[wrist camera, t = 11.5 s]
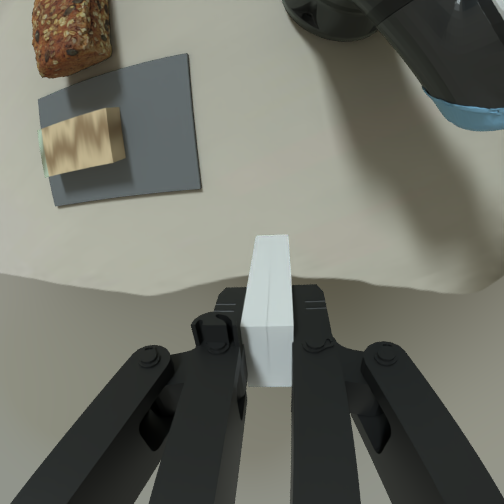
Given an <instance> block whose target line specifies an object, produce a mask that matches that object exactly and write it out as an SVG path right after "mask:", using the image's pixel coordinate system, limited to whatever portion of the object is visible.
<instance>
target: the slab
mask: <svg viewBox="0 0 504 504" xmlns="http://www.w3.org/2000/svg"><path fill="white" fill-rule="evenodd" d="M37 131H38V139H39V146H40V152H41V158H42V164H43V170H44V175H45V178H46V177H50V176H54V175H58V174H62V173H66V172H71V171H75V170H80V169H84V168H89V167H94V166H99V165H104V164H109V163H114V162H116V161H119V160H122V159H124V158H126V156H125V149H124V142H123V134H122V126H121V118H120V109H119V107H111V108H103V109H100V110H96V111H93V112H90V113H86V114H83V115H80V116H77V117H74V118H71V119H68V120H65V121H62V122H59V123H56V124H53V125H51V126H48V127H45V128H43V129H40V130H37Z"/></svg>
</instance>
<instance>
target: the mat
mask: <svg viewBox="0 0 504 504" xmlns="http://www.w3.org/2000/svg"><path fill="white" fill-rule="evenodd" d="M38 105H39V116H40V125H41V129H43V128H45V127H48V126H51V125H53V124H56V123H59V122H62V121H65V120H68V119H71V118H74V117H77V116H80V115H83V114H86V113H90V112H93V111H96V110H100V109H103V108H111V107H119V109H120V118H121V126H122V134H123V142H124V149H125V156H126V158H124V159H122V160H119V161H116V162H114V163H109V164H104V165H99V166H94V167H89V168H84V169H80V170H75V171H71V172H66V173H62V174H58V175H54V176H50V177H49V181H50V186H51V190H52V195H53V199H54V203H55V206H61V205H67V204H73V203H80V202H87V201H94V200H101V199H108V198H116V197H124V196H132V195H141V194H150V193H159V192H169V191H180V190H191V189H201V181H200V172H199V164H198V155H197V146H196V137H195V127H194V117H193V107H192V96H191V85H190V73H189V61H188V54H187V53H186V54H180V55H175V56H170V57H166V58H161V59H157V60H152V61H148V62H144V63H140V64H136V65H133V66H129V67H126V68H122V69H119V70H115V71H112V72H109V73H106V74H103V75H99V76H96V77H94V78H91V79H88V80H85V81H82V82H80V83H77V84H74V85H72V86H69V87H66V88H64V89H61V90H59V91H57V92H54V93H52V94H50V95H47V96H45V97H43V98H41V99H38Z"/></svg>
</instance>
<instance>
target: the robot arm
mask: <svg viewBox="0 0 504 504" xmlns="http://www.w3.org/2000/svg"><path fill="white" fill-rule="evenodd" d="M282 2H283V4H284V7H285V9H286V10H287V12H288V13H289V15H290V16H291V17H292V18H293V20H294V21H295V22H296V23H298V24H299V25H300V26H301V27H303V28H304V29H306V30H307V31H309V32H311V33H313V34H315V35H317V36H319V37H322V38H325V39H329V40H334V41H355V40H360V39H363V38H366V37H368V36H370V35H371V34H373V33H374V32H376V31H377V30H379V31H380V32H381V34H382V35H383V36H384V37H385V38H386V39H387V41H388V42H389V43H390V44H391V45H392V46H393V48H394V49H395V50H396V51H397V53H398V54H399V55H400V56H401V58H402V59H403V60H404V62H405V63H406V64H407V65H408V67H409V68H410V69H411V71H412V72H413V73H414V75H415V76H416V78H417V79H418V80H419V82H420V83H421V85H422V89H423V90H424V92H425V93H426V95H427V96H429V97H430V98H431V99H432V100H433V102H434V103H435V104H436V106H437V107H438V109H439V110H440V112H441V113H442V115H443V116H444V117H445V118H446V119H447V120H448V121H449V122H452V123H453V124H454V125H456V126H458V127H460V128H463V129H466V130H471V131H496V130H502V129H504V0H282ZM191 328H192V332H193V335H194V339H195V344H196V348H195V349H193V350H191V351H187V352H183V353H178V354H173V355H170V353H169V352H168V350H167V349H166V348H164V347H162V346H158V345H150V346H145V347H143V348H140V349H138V350H137V351H136V352H135V353H133V354H132V356H131V357H130V358H129V359H128V360H127V361H126V363H125V364H124V365H123V366H122V367H121V368H120V369H119V371H118V372H117V373H116V374H115V375H114V377H113V378H112V379H111V380H110V381H109V382H108V384H107V385H106V386H105V387H104V389H103V390H102V391H101V392H100V393H99V394H98V396H97V397H96V398H95V399H94V400H93V402H92V403H91V404H90V405H89V407H88V408H87V409H86V410H85V411H84V412H83V414H82V415H81V416H80V417H79V418H78V420H77V421H76V422H75V423H74V425H73V426H72V427H71V428H70V429H69V431H68V432H67V433H66V434H65V436H64V437H63V438H62V439H61V440H60V442H59V443H58V444H57V445H56V446H55V448H54V449H53V450H52V452H51V453H50V454H49V455H48V456H47V458H46V459H45V460H44V461H43V463H42V464H41V465H40V467H39V468H38V469H37V470H36V471H35V473H34V474H33V475H32V477H31V478H30V479H29V480H28V482H27V483H26V484H25V486H24V487H23V488H22V489H21V491H20V492H19V493H18V495H17V496H16V497H15V498H14V500H13V501H12V502H11V504H134V502H135V501H136V499H137V498H138V496H139V494H140V492H141V491H142V490H143V488H144V486H145V485H146V483H147V482H148V480H149V478H150V477H151V475H152V474H153V472H154V470H155V469H156V467H157V465H158V464H159V462H160V460H161V462H160V466H159V469H158V472H157V476H156V479H155V483H154V486H153V490H152V494H151V497H150V501H149V504H235V496H236V488H237V481H238V473H239V465H240V457H241V448H242V440H243V432H244V423H245V415H246V406H247V394H246V386H247V382H248V386H249V387H292V400H291V412H292V425H291V428H292V431H291V432H292V433H291V437H292V438H291V490H290V504H361V501H360V491H359V482H358V481H359V480H358V471H357V463H356V455H355V447H354V440H353V432H352V425H351V418H350V413H351V416H352V418H353V420H354V422H355V424H356V427H357V429H358V431H359V433H360V435H361V437H362V439H363V442H364V444H365V446H366V448H367V450H368V452H369V454H370V456H371V459H372V461H373V463H374V465H375V467H376V470H377V472H378V474H379V476H380V478H381V480H382V483H383V485H384V487H385V489H386V491H387V494H388V496H389V498H390V500H391V502H392V504H504V498H503V496H502V495H501V493H500V491H499V489H498V488H497V486H496V484H495V483H494V481H493V479H492V478H491V476H490V474H489V473H488V471H487V470H486V468H485V466H484V465H483V463H482V461H481V460H480V458H479V457H478V455H477V453H476V452H475V450H474V449H473V447H472V446H471V445H470V443H469V441H468V440H467V438H466V436H465V435H464V434H463V432H462V431H461V429H460V428H459V426H458V425H457V423H456V422H455V420H454V419H453V417H452V416H451V414H450V413H449V411H448V410H447V408H446V407H445V406H444V404H443V403H442V401H441V400H440V399H439V397H438V396H437V394H436V393H435V391H434V390H433V389H432V387H431V386H430V384H429V383H428V382H427V380H426V379H425V378H424V376H423V375H422V373H421V372H420V371H419V369H418V368H417V367H416V365H415V364H414V363H413V361H412V360H411V359H410V357H409V356H408V355H407V353H406V352H405V351H404V350H403V349H402V348H401V347H400V346H398V345H396V344H394V343H391V342H384V341H383V342H376V343H373V344H371V345H369V346H368V347H367V349H366V350H365V351H364V352H363V351H357V350H352V349H348V348H345V347H343V346H341V345H340V344H338V343H337V342H336V340H335V338H334V337H333V336H332V333H331V328H330V322H329V317H328V313H327V309H326V303H325V298H324V293H323V291H322V290H321V289H320V288H319V287H318V286H317V285H291V269H290V253H289V239H288V235H261V236H256V239H255V245H254V251H253V256H252V262H251V268H250V273H249V279H248V285H247V287H240V288H238V287H237V288H225V289H224V290H223V291H222V292H221V293H220V294H219V296H218V299H217V302H216V306H215V309H214V312H208V313H205V314H202V315H200V316H199V317H197V318H196V319H195V320H194V321H193V322H192V324H191Z"/></svg>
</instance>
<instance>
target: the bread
mask: <svg viewBox="0 0 504 504" xmlns="http://www.w3.org/2000/svg"><path fill="white" fill-rule="evenodd" d="M32 24H33V36H32V37H33V38H34V39H33V40H32V45H33V47H34V50H35V54H36V61H37V68H38V71H39V74H40V75H41V77H42V78H43V77H48V78H57V77H65V76H69V75H72V74H74V73H76V72H79V71H81V70H83V69H86V68H88V67H90V66H92V65H95V64H97V63H99V62H101V61H104V60H106V59H107V58H109V57H110V56H111V52H112V47H111V44H110V26H109V25H110V23H109V7H108V0H35V2H34V8H33V12H32Z"/></svg>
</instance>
